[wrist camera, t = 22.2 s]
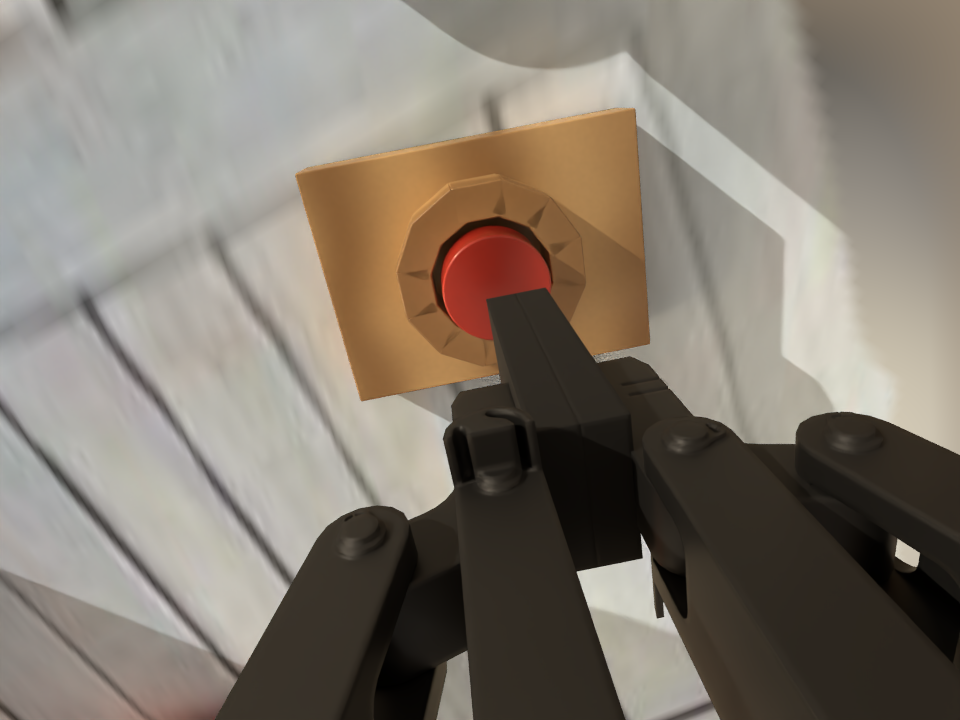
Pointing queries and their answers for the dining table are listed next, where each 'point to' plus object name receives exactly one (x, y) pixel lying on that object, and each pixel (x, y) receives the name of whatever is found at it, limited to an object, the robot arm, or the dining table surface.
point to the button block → (463, 207)
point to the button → (488, 274)
